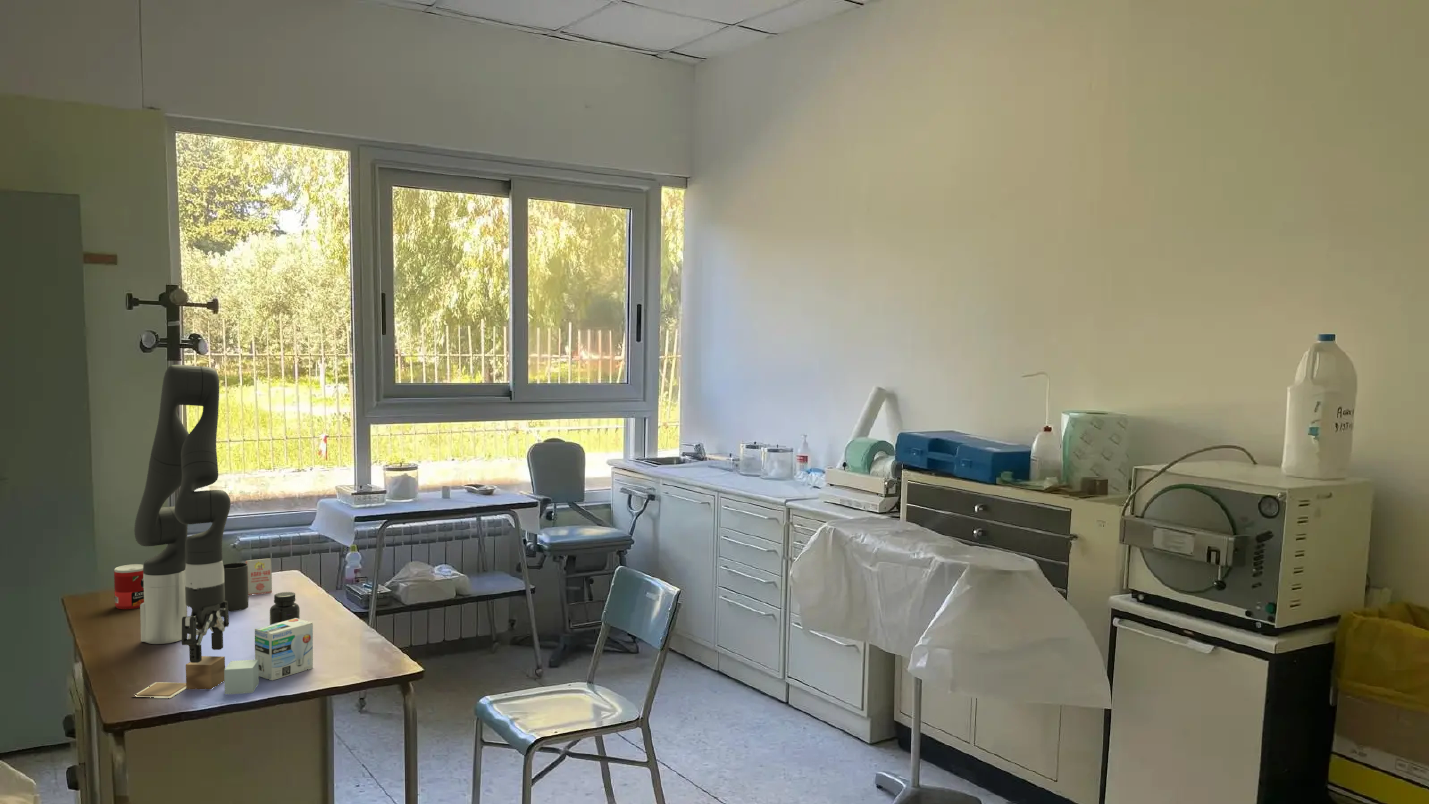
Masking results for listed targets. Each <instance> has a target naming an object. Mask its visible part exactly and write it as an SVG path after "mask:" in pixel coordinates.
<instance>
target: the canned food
mask: <svg viewBox="0 0 1429 804" xmlns="http://www.w3.org/2000/svg"><path fill="white" fill-rule="evenodd" d="M143 565H144V564H138V563H134V564H133V563H132V564H126V565H120V566H117V567H115V568H114V569H113V573H114V575H113V578H114V579H113V580H114V581H113V582H114V583H113V584H114V585H113V586H114V606H115V608H116V609H119V610H134V609H139V608H140V605H141V604H142V603H144V578H143Z"/></svg>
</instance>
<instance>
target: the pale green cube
mask: <svg viewBox="0 0 1429 804" xmlns="http://www.w3.org/2000/svg"><path fill="white" fill-rule="evenodd" d="M259 679H260V676H259V664H258V659H257V660H255V659H244V660H243V659H242V660H230V662H229V663H228V664H227V666H225V669H224V682H223V683H224V695H225V694H228V695H237V694H238V695H239V694H253V693H254V692H255V690H256V689H257V687H258V686H259V684H260V683H259V682H260V681H259ZM257 685H258V686H257ZM256 686H257V687H256ZM255 688H256V689H255Z"/></svg>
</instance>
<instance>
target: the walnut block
mask: <svg viewBox="0 0 1429 804" xmlns="http://www.w3.org/2000/svg"><path fill="white" fill-rule="evenodd" d="M225 668H226V656H221V655H220V656H219V655H217V656H215V655H214V656H213V655H212V656H211V655H202V660H201V661H200V662H199V663H191V662H190V661H189V662H188V663H186V664H185V683H186V689H185V690H200V689H212V688H213V687H215V686H216V687H218V686H219V685H220V683H221V682H222V683H224V682H223V681H224V669H225ZM222 683H221V684H222ZM218 684H219V685H218ZM216 687H215V688H216ZM213 689H214V688H213ZM213 689H212V690H213Z"/></svg>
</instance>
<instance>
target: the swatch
mask: <svg viewBox="0 0 1429 804" xmlns="http://www.w3.org/2000/svg"><path fill="white" fill-rule="evenodd" d="M149 686H150V687H149ZM149 686H148V687H146V688H143V689H142V690H140V691H139V692H137V693H136V694H137V695H135V694H134V695H135V696H136V697H150V698H149V699H152V698H151V697H154V698H153V699H168V698H169V699H173V698H174V697H176V696H177V695H178V694H180V693H181V692H184V691H185V690H187V689H186V682H162V681H161V682H160V681H159V682H157V681H155V682H153V683H151V684H150V685H149ZM175 695H176V696H175Z"/></svg>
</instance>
